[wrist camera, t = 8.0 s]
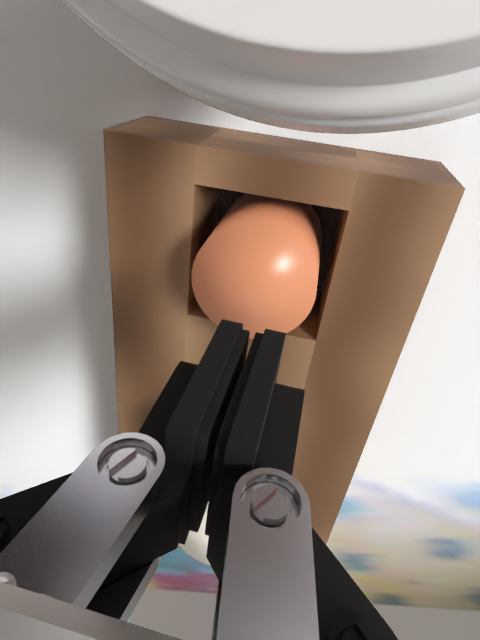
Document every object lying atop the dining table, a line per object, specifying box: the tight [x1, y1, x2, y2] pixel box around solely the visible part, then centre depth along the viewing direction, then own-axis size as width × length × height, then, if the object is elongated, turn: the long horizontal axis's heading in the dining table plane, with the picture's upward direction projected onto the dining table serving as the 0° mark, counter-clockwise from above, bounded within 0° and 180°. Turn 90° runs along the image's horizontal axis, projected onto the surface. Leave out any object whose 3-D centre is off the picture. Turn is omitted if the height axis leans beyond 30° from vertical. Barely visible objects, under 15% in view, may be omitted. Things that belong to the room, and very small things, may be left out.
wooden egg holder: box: [103, 116, 465, 548], centre depth 22 cm, size 12×24×4 cm, turn 173°
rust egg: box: [192, 193, 322, 339], centre depth 17 cm, size 4×4×5 cm
